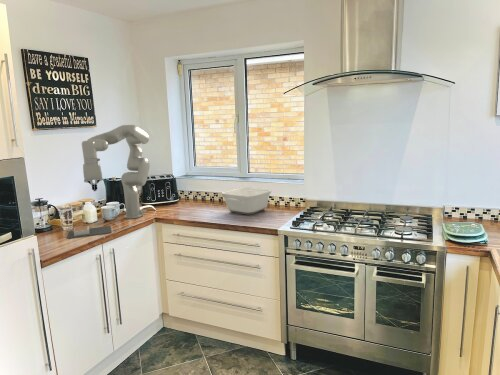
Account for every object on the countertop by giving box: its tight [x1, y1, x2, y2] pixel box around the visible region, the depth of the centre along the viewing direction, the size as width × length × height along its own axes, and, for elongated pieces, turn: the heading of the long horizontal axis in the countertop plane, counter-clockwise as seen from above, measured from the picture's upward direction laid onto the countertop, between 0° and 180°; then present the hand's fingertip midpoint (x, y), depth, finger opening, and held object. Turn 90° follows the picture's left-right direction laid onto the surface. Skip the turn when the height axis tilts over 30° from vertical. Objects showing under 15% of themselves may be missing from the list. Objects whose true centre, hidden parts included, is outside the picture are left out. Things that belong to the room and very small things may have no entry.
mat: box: [66, 225, 112, 240], centre depth 228 cm, size 24×16×1 cm, turn 112°
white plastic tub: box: [221, 186, 272, 216], centre depth 265 cm, size 34×29×15 cm
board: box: [73, 225, 90, 236], centre depth 226 cm, size 10×2×8 cm
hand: (95, 190), depth 229 cm, fingers closed
